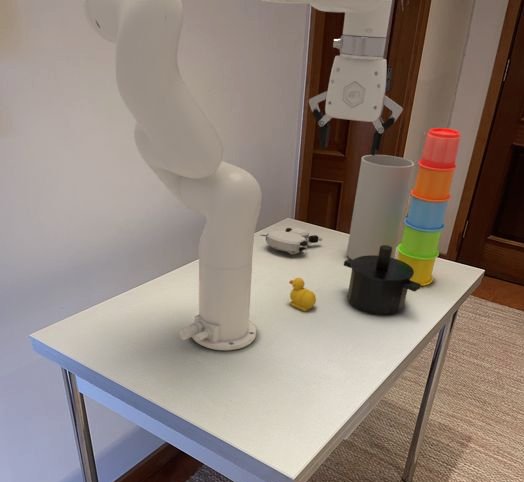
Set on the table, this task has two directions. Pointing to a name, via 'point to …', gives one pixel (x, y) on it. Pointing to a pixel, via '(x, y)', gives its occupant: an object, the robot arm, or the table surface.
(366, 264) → the pan lid
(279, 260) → the table surface
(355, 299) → the pan
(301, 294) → the duck
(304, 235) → the robot toy
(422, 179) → the stacking cups
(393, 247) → the cylinder vase
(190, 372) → the table surface
